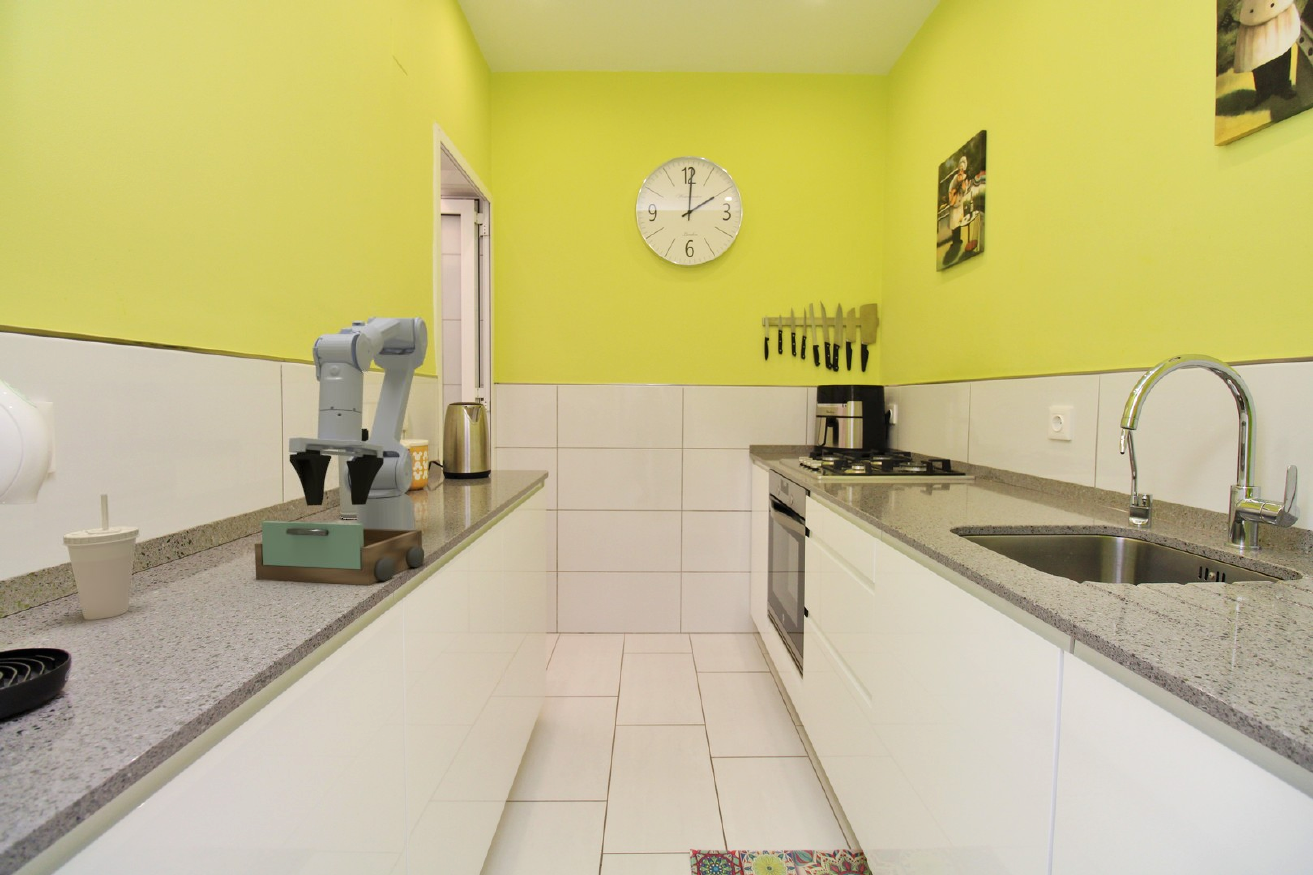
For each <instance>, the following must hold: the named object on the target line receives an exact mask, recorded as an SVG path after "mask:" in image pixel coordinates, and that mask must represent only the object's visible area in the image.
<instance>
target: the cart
mask: <svg viewBox="0 0 1313 875" xmlns="http://www.w3.org/2000/svg"><path fill="white" fill-rule="evenodd" d="M422 531H423V530H422V529H421V530H420V529H415V530H394V529H363V540H364V547H363V548H362V569H342V568H321V567H300V566H279V565H263V544H262V541H260V542H256V543H254V562H255V564H254V565H255V579H256V580H263V581H264V580H265V581H283V582H303V583H318V584H319V583H321V584H335V585H336V584H337V585H338V584H340V585H355V586H356V585H357V586H358V585H361V586H371V585H373V584H375V583H378V582H380V581H384V582H385V581H387V582H388V581H389V580H391V579H392V577H393V576H394V575H397V574H399V573H401V572H403V571H406V570H408V569H411V568H420V567H421V566H422V565H423V562H424V560H425V550H424V549H423V537H422V536H423V533H422Z"/></svg>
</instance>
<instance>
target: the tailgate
mask: <svg viewBox="0 0 1313 875" xmlns="http://www.w3.org/2000/svg"><path fill="white" fill-rule="evenodd" d="M261 540H262V541H261V542H262V544H263V565H279V566H300V567H321V568H342V569H362V548H363V547H364V540H363V524H357V523H346V522H345V523H342V522H313V521H312V522H311V521H307V522H306V521H276V520H273V521H272V520H265V521H262V522H261Z"/></svg>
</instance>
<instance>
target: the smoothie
mask: <svg viewBox="0 0 1313 875" xmlns="http://www.w3.org/2000/svg"><path fill="white" fill-rule="evenodd" d="M100 507H101V508H100V509H101V510H100V511H101V525H102V526H101V527H99V528H92V529H91V528H90V529H85V530H84V529H83V530H79V531H73V532H69V533H67V534H64V535H63V543H62V545H63V546H66V547H67V550H68V556H69V559H70V560H69V561H70V563H71V567H72V571H73V577H74V580H75V584H76V589H77V593H78V598H79V602H80V607H81V611H82V615H83V618H84V620H92V621H93V620H94V621H95V620H102V619H108V618H113V617H117V616H120V615H123V614H125V613H127V612H128V611H129V604H130V594H131V587H132V586H131V585H132V577H133V569H134V560H135V559H134V558H135V552H136V540H137V538H138V537H140V532H139V527H137V526H130V525H129V526H127V525H125V526H123V525H121V526H110V521H109V520H110V519H109V518H110V517H109V516H110V515H109V500H108V493H102V494H100Z"/></svg>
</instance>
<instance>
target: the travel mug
mask: <svg viewBox="0 0 1313 875" xmlns="http://www.w3.org/2000/svg"><path fill="white" fill-rule="evenodd" d="M368 439H370V435H369V429H368V428H362V441H367V440H368ZM337 452H346V450H337ZM349 453H352V452H349ZM337 457H338V458H337V459H338V460H337V461H338V465H337V466H338V486H339V488H338V493H339V494H338V495H339V511H340V512H339V517H340V516H341V517H343V518H357V505H352V501H351V493H350V492H349V491H348V490H347V489H346V487H345V485H344V481H343V471H344V467H345V464H346V462H347V461H348V460H349V458H350V456H340V455H337Z"/></svg>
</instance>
